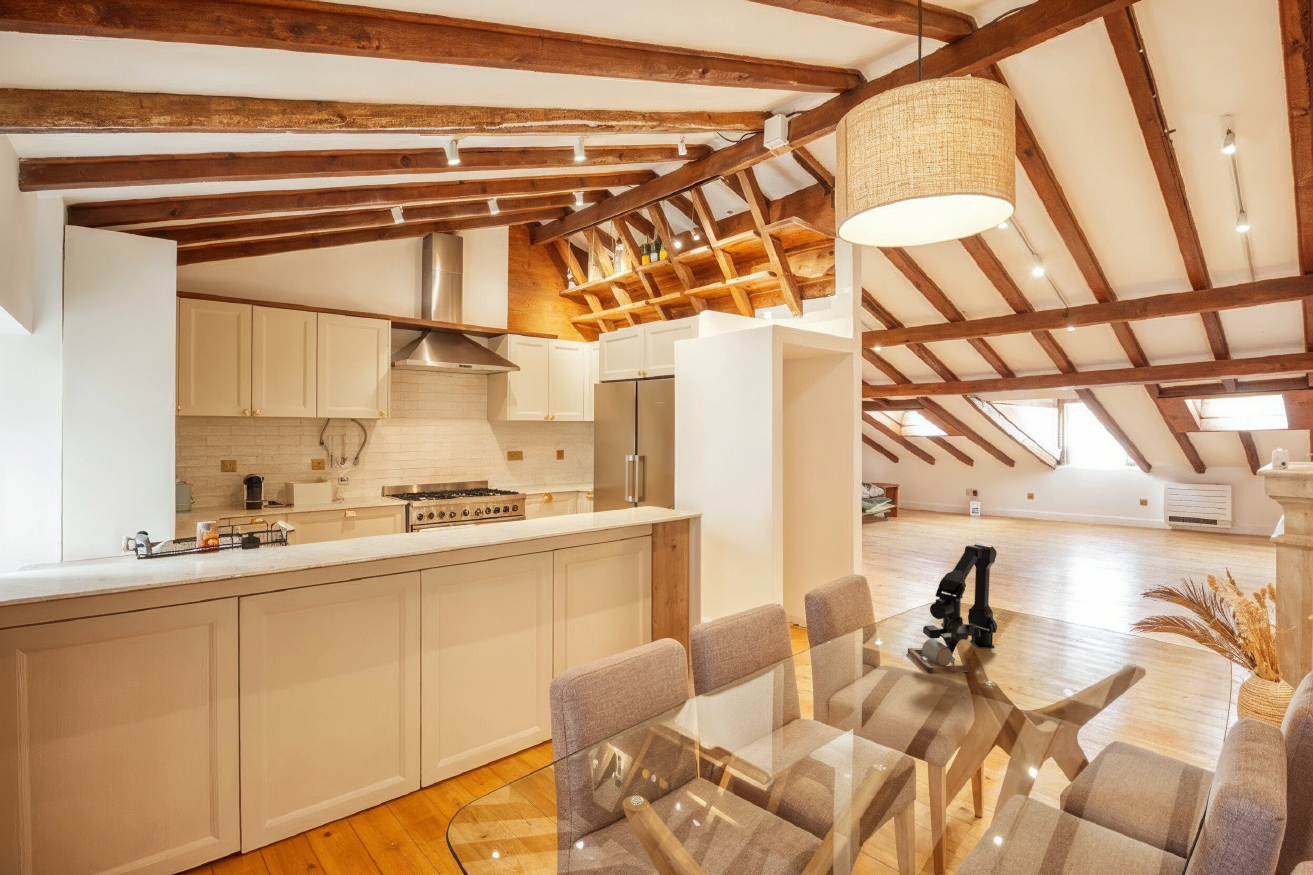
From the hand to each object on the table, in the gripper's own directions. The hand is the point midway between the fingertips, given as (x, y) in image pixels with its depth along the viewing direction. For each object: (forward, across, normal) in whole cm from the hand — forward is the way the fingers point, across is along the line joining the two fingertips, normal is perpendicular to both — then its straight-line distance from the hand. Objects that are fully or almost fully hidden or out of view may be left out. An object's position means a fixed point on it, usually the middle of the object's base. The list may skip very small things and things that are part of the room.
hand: (951, 653), depth 231 cm
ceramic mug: (+3, -4, 0) cm, 5 cm away
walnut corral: (+3, -5, 0) cm, 6 cm away
